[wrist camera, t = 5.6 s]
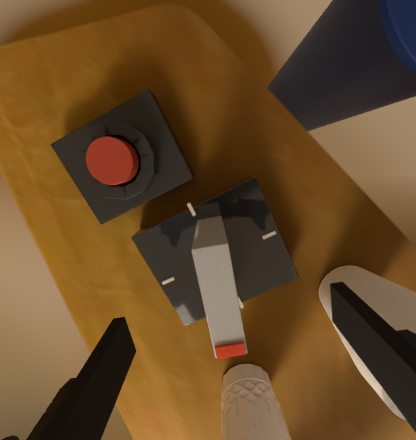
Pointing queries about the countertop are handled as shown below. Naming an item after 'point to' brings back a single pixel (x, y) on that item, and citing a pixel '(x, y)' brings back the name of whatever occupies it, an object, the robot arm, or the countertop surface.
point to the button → (112, 160)
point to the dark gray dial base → (237, 239)
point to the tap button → (145, 148)
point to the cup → (381, 303)
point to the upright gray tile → (218, 288)
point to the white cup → (250, 406)
